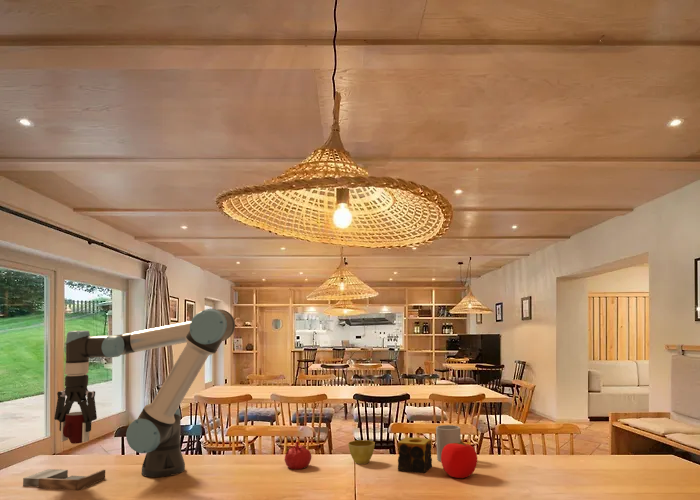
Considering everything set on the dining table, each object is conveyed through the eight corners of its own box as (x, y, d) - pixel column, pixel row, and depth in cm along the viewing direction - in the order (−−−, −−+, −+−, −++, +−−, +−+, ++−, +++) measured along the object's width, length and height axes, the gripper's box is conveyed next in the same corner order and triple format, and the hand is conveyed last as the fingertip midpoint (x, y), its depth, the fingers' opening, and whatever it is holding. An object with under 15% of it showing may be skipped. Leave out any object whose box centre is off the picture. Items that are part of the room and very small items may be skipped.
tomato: (436, 479, 198) (435, 444, 200) (445, 469, 211) (444, 436, 212) (473, 483, 194) (472, 447, 195) (480, 472, 207) (479, 438, 208)
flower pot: (375, 465, 219) (375, 445, 220) (348, 466, 219) (347, 446, 220) (374, 459, 229) (374, 439, 230) (348, 459, 229) (348, 440, 230)
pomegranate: (316, 466, 221) (316, 440, 222) (300, 472, 212) (300, 445, 213) (295, 462, 226) (295, 437, 227) (278, 468, 218) (279, 442, 219)
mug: (76, 446, 201) (77, 416, 202) (54, 446, 202) (55, 416, 203) (94, 440, 211) (95, 411, 212) (73, 439, 212) (74, 411, 213)
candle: (397, 471, 210) (396, 442, 211) (405, 464, 220) (404, 436, 221) (425, 473, 207) (424, 444, 208) (432, 466, 216) (431, 438, 217)
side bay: (106, 478, 210) (106, 469, 210) (78, 490, 196) (78, 480, 196) (50, 475, 215) (50, 466, 215) (19, 486, 201) (19, 477, 201)
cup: (434, 457, 229) (433, 425, 230) (457, 456, 230) (456, 424, 231) (440, 463, 220) (439, 430, 221) (464, 462, 221) (463, 429, 222)
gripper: (109, 373, 210) (107, 439, 208) (59, 373, 215) (57, 437, 213) (95, 376, 203) (93, 444, 201) (43, 375, 208) (41, 442, 206)
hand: (74, 441), depth 207 cm, fingers closed on mug, 8 cm apart
